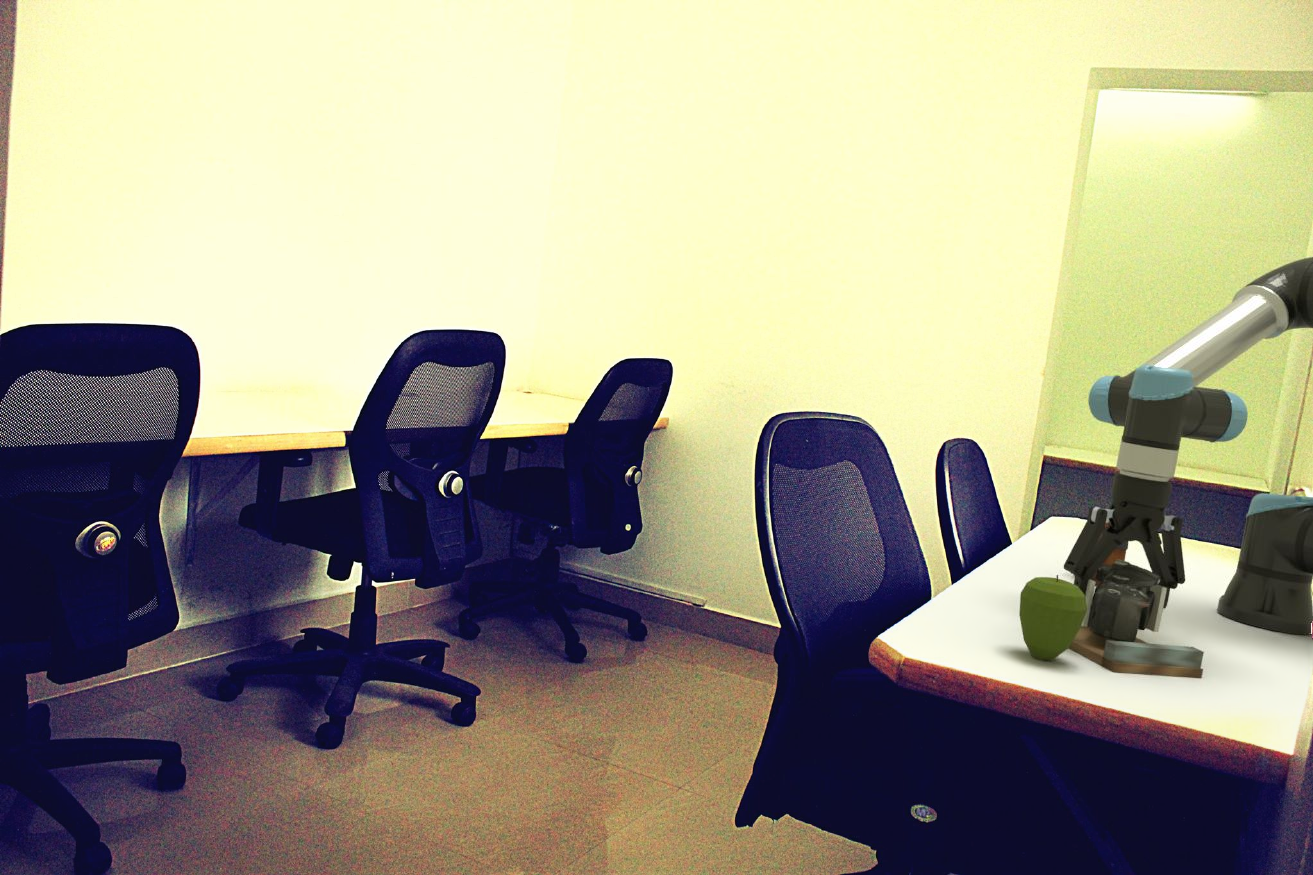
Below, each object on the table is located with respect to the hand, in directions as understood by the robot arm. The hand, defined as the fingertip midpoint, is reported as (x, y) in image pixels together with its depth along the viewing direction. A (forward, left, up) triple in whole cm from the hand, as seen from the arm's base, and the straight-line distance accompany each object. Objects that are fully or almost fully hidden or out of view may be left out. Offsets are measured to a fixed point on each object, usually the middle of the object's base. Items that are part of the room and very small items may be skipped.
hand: (1114, 626), depth 151 cm
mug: (-30, -44, -4) cm, 53 cm away
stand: (0, 0, -4) cm, 4 cm away
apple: (+15, +6, -4) cm, 17 cm away
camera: (0, 0, -1) cm, 1 cm away
